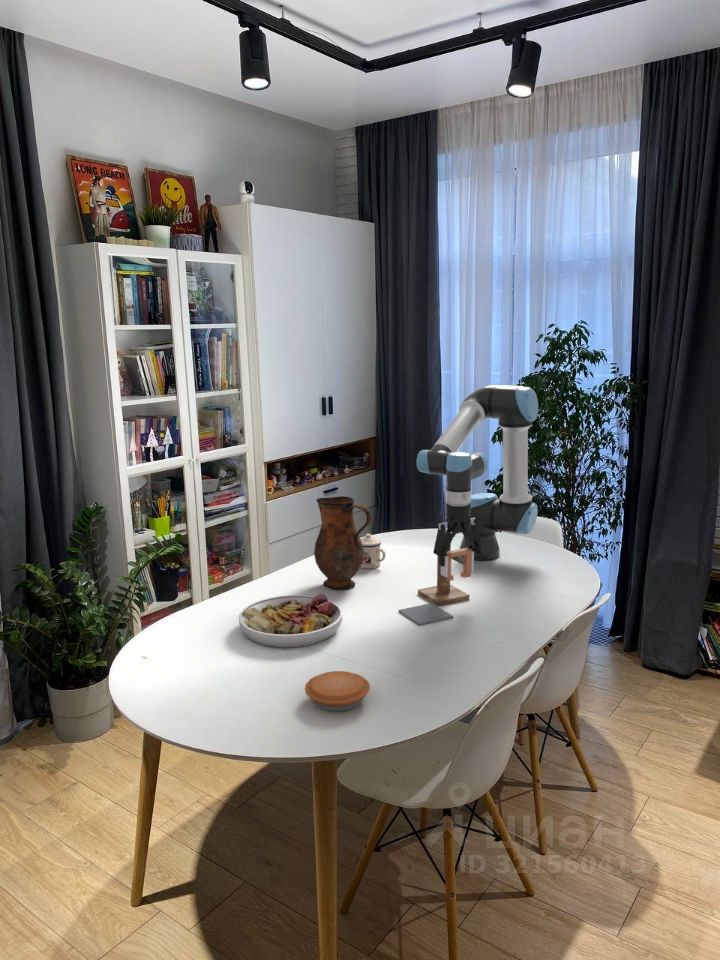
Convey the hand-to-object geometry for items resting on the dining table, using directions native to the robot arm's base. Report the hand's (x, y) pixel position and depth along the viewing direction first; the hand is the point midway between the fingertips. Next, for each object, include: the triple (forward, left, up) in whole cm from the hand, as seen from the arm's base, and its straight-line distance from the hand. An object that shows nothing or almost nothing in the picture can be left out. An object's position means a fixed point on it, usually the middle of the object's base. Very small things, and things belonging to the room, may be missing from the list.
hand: (457, 573), depth 237 cm
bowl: (+53, -7, -11) cm, 55 cm away
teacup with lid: (+6, -45, -11) cm, 47 cm away
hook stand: (0, -5, -10) cm, 12 cm away
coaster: (+13, +3, -10) cm, 17 cm away
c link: (0, 0, -2) cm, 2 cm away
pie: (+59, +37, -11) cm, 70 cm away
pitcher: (+24, -31, -11) cm, 41 cm away
